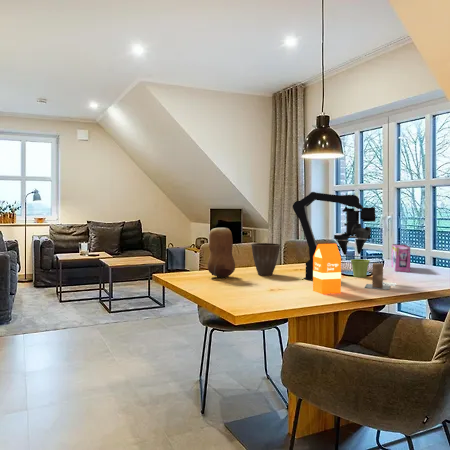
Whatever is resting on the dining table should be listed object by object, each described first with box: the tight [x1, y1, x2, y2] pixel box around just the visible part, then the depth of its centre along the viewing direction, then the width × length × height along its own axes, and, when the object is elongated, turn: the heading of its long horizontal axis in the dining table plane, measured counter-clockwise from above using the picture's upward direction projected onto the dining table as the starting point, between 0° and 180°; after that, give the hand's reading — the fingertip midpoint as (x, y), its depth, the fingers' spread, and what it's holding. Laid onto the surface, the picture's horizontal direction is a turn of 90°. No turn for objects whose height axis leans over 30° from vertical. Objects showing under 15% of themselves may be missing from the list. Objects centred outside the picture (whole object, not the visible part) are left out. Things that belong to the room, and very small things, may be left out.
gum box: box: [391, 243, 411, 273], centre depth 253 cm, size 24×8×14 cm, turn 165°
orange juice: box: [312, 243, 342, 295], centre depth 183 cm, size 8×9×20 cm
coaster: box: [364, 283, 391, 291], centre depth 192 cm, size 10×10×1 cm
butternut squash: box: [207, 227, 236, 279], centre depth 219 cm, size 14×13×25 cm
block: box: [371, 262, 384, 288], centre depth 192 cm, size 4×5×10 cm
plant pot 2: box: [350, 258, 371, 279], centre depth 222 cm, size 9×9×9 cm
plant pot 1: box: [251, 242, 281, 277], centre depth 229 cm, size 15×15×16 cm
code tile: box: [383, 281, 397, 287], centre depth 201 cm, size 9×9×1 cm
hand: (352, 254), depth 208 cm, fingers open, 9 cm apart
